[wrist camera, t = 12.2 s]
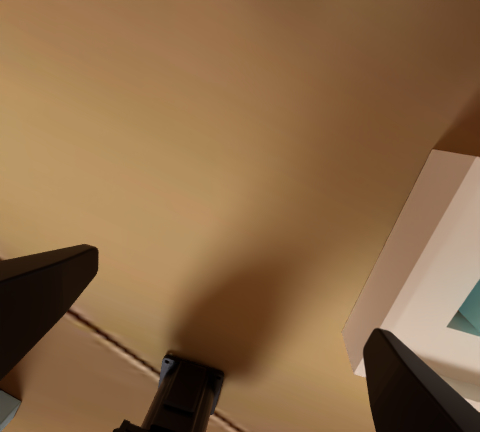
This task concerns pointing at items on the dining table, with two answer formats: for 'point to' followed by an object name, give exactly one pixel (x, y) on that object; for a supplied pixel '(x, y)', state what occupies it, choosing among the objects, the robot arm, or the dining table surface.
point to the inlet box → (429, 276)
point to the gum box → (7, 408)
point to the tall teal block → (472, 307)
